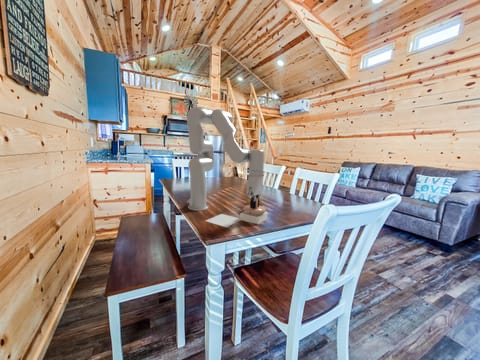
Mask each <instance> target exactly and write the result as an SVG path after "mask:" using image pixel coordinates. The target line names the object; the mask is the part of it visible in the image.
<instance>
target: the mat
mask: <svg viewBox="0 0 480 360" xmlns="http://www.w3.org/2000/svg"><path fill="white" fill-rule="evenodd" d="M240 221H241V220H240V217H235V216H232V215H227V214H224V213H220V214H218V215H215V216H213V217H211V218H208V219H206V220H205V222H208V223H210V224H214V225H217V226H221V227H224V228H229V227H230V226H232V225H234V224H236V223H238V222H240Z"/></svg>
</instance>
